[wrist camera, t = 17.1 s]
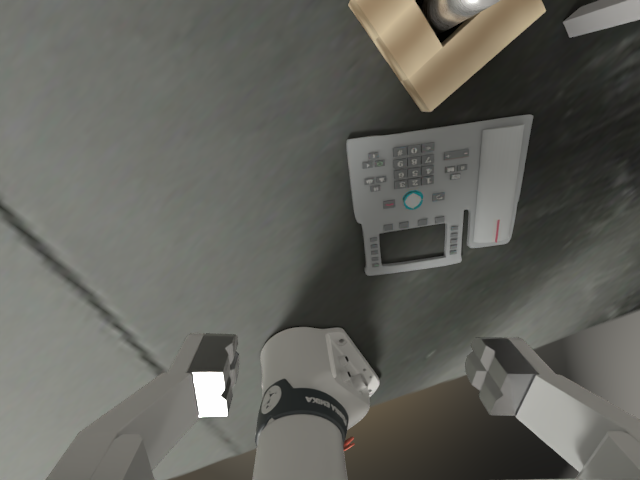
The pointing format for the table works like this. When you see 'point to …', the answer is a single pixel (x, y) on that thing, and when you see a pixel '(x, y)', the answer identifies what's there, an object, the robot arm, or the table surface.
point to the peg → (451, 12)
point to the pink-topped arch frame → (601, 16)
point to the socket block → (440, 58)
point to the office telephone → (439, 185)
